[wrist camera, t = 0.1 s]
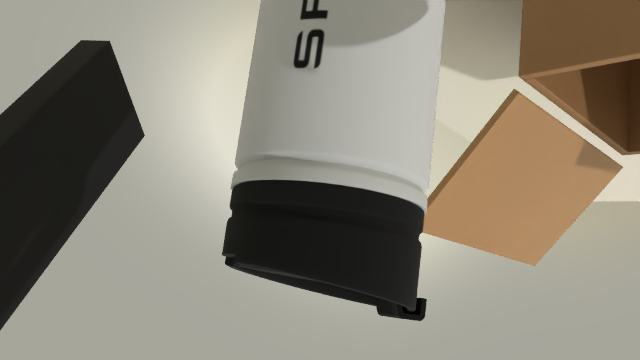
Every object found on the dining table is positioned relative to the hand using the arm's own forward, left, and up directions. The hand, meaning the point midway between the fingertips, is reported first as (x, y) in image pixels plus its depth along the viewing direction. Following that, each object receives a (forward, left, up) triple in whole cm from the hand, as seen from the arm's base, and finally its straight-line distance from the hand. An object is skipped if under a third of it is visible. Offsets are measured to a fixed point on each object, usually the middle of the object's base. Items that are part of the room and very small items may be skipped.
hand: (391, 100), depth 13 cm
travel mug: (+6, -2, -16) cm, 17 cm away
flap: (+22, +5, -3) cm, 23 cm away
